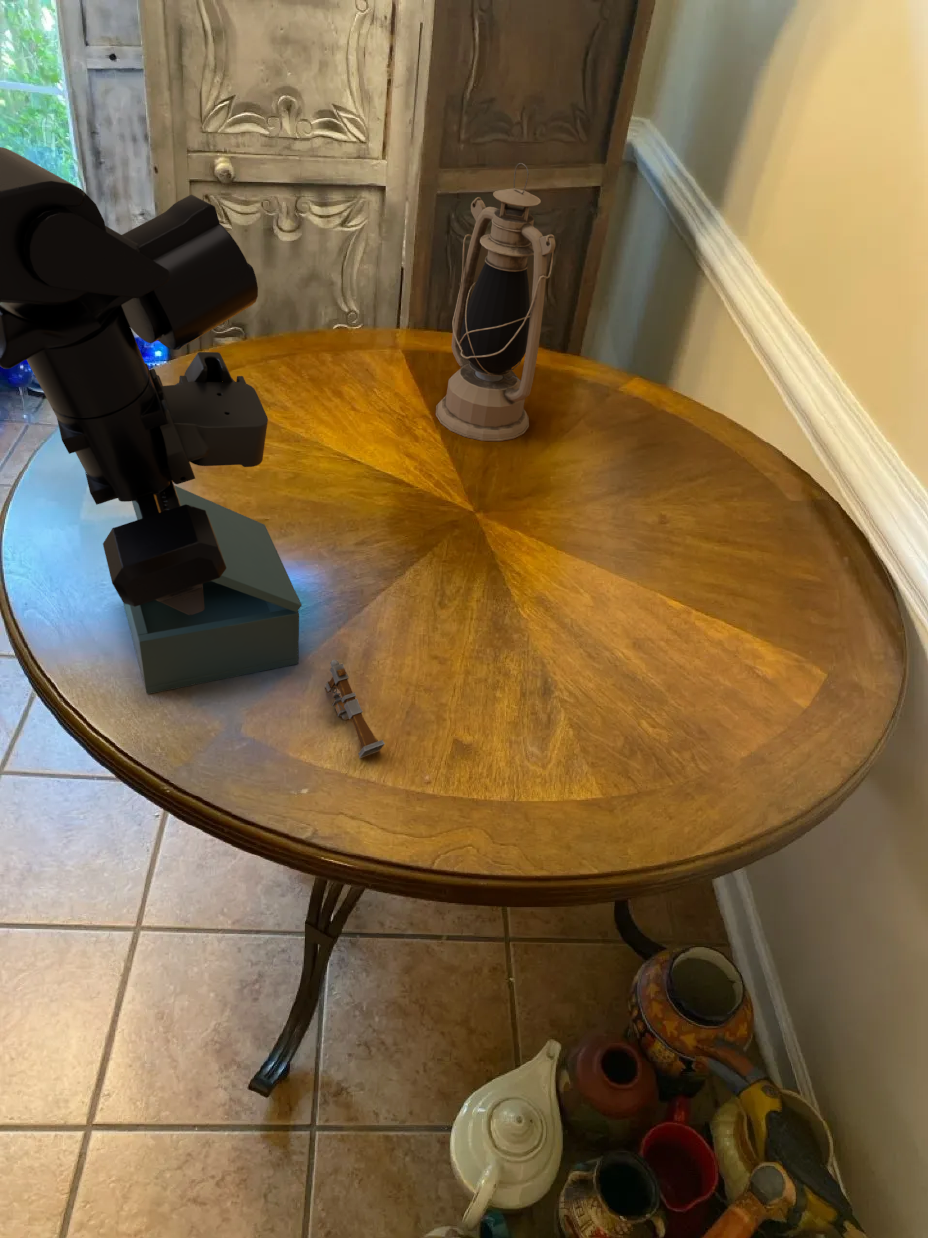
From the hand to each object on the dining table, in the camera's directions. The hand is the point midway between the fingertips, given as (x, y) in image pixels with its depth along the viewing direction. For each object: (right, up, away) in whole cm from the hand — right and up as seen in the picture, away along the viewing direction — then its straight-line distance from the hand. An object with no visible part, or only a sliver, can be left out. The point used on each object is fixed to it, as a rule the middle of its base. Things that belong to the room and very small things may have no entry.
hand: (182, 564), depth 65 cm
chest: (-2, -5, +16) cm, 17 cm away
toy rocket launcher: (+10, -13, +10) cm, 19 cm away
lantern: (+22, +22, +52) cm, 60 cm away
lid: (-1, +2, +9) cm, 10 cm away
